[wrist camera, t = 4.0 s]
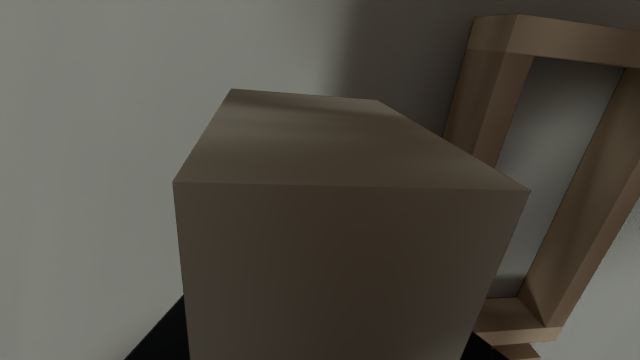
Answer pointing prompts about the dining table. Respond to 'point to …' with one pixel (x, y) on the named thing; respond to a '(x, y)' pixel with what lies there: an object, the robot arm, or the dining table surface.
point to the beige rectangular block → (335, 233)
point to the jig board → (589, 181)
